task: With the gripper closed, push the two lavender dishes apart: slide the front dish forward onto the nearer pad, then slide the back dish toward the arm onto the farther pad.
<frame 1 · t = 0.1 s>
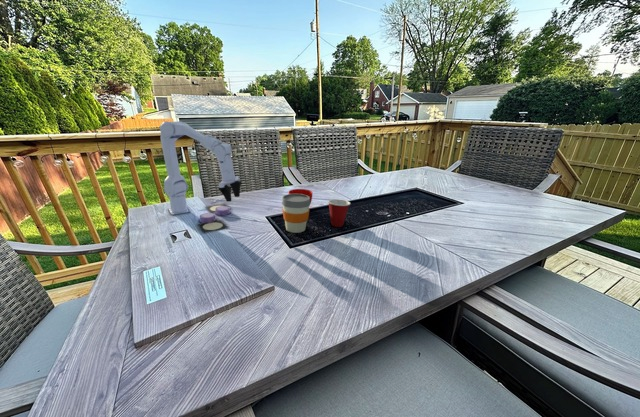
hand: (233, 198, 123), 10 cm above the table, tool pointing down, fingers open, 7 cm apart
pad 1: (212, 226, 118), on the table
pad 2: (218, 208, 140), on the table
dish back: (222, 212, 134), on the table, touching pad 2
plastic cup: (337, 224, 127), on the table
ceramic cup: (298, 210, 143), on the table
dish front: (208, 220, 124), on the table, touching pad 1
reusable coffee cup: (295, 229, 120), on the table
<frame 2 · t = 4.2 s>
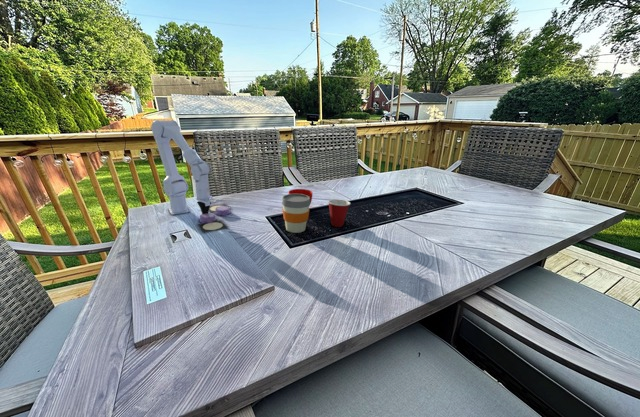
hand: (205, 215, 127), 1 cm above the table, tool pointing down, fingers closed
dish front: (208, 220, 124), on the table, touching gripper
everything else where it was.
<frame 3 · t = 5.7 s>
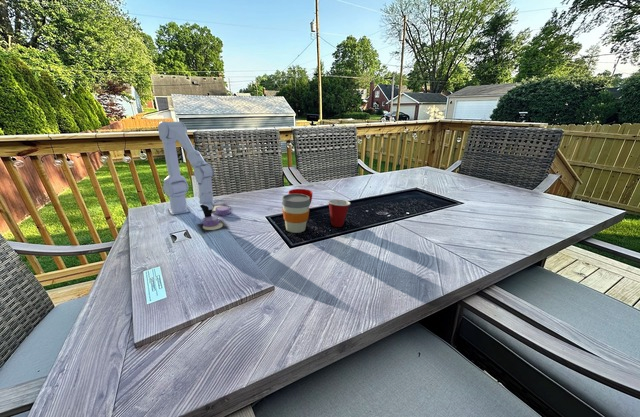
hand: (208, 219, 123), 1 cm above the table, tool pointing down, fingers closed, pressing on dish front
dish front: (211, 223, 120), on the table, touching gripper, pad 1
everything else where it was.
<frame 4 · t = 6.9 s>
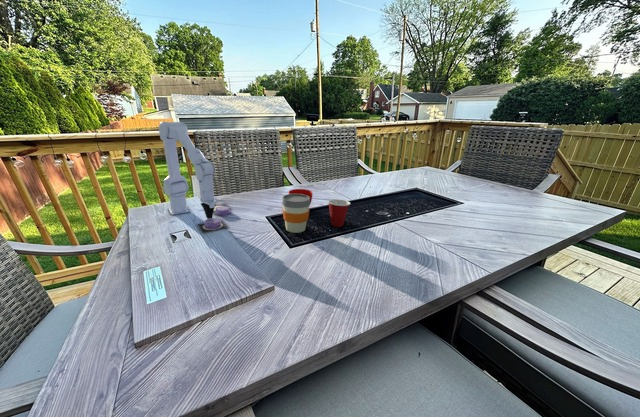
hand: (209, 218, 121), 2 cm above the table, tool pointing down, fingers closed
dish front: (213, 226, 118), resting on pad 1
everything else where it was.
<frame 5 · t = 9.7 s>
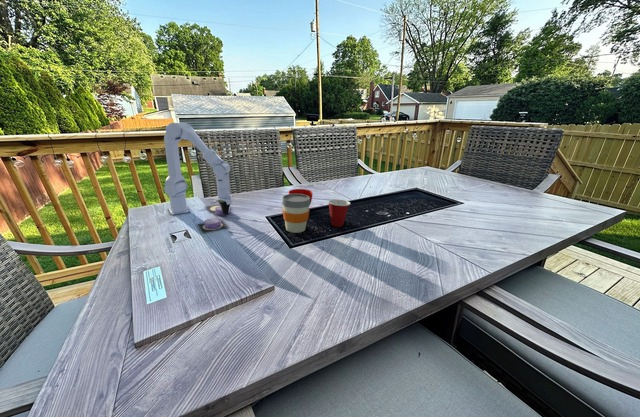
hand: (225, 214, 131), 1 cm above the table, tool pointing down, fingers closed
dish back: (222, 212, 134), on the table, touching gripper
everything else where it was.
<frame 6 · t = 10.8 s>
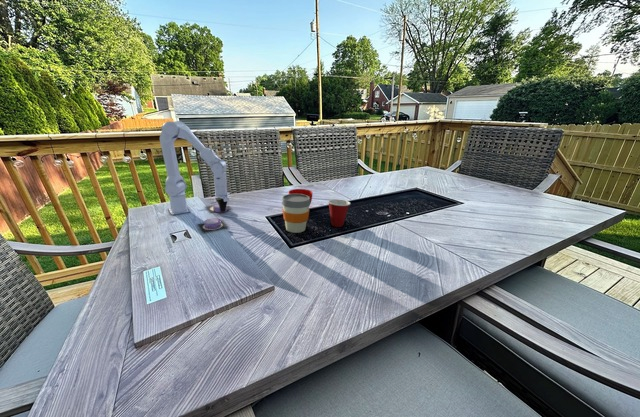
hand: (222, 211, 134), 1 cm above the table, tool pointing down, fingers closed
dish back: (220, 210, 137), on the table, touching gripper, pad 2
everything else where it was.
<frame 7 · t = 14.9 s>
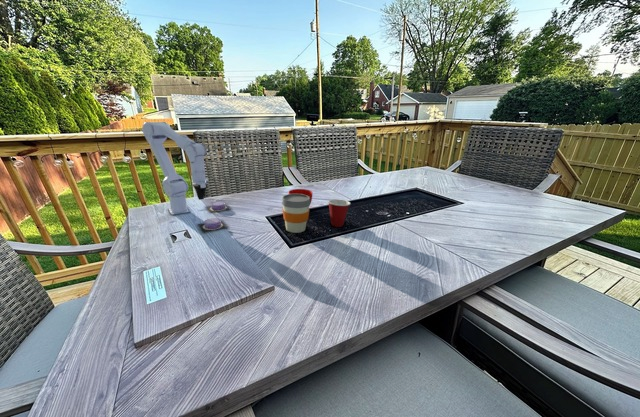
hand: (201, 199, 124), 9 cm above the table, tool pointing down, fingers closed
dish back: (218, 208, 140), resting on pad 2
everything else where it was.
at the end: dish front 0.1 cm off-centre on the pad 1, point 0.1 cm above the pad 1's base; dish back 0.1 cm off-centre on the pad 2, point 0.1 cm above the pad 2's base; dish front tilted 0° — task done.
